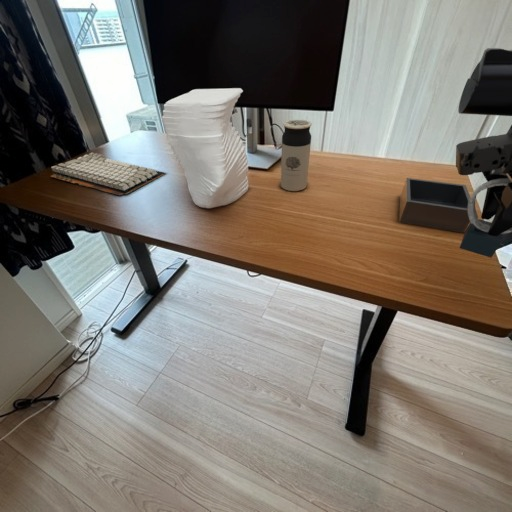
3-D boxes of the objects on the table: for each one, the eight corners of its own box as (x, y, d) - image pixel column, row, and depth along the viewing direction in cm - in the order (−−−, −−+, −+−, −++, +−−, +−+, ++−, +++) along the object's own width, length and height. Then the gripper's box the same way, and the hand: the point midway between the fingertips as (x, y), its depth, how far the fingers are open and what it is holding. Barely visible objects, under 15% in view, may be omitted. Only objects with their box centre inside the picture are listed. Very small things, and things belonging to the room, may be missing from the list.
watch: (507, 262, 41) (553, 196, 34) (447, 244, 45) (478, 181, 38) (509, 245, 44) (552, 181, 38) (453, 229, 49) (482, 170, 42)
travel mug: (287, 178, 87) (290, 118, 76) (310, 183, 84) (317, 121, 72) (276, 188, 82) (277, 125, 71) (299, 194, 79) (304, 128, 67)
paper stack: (259, 180, 87) (257, 88, 70) (226, 225, 67) (211, 112, 51) (201, 173, 92) (186, 86, 76) (155, 213, 73) (121, 108, 57)
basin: (455, 205, 71) (465, 185, 68) (463, 233, 62) (476, 211, 58) (399, 197, 76) (406, 177, 72) (399, 222, 66) (407, 201, 62)
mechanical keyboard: (166, 173, 94) (163, 164, 91) (123, 198, 81) (119, 187, 79) (93, 159, 107) (90, 150, 105) (47, 178, 95) (42, 168, 93)
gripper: (465, 100, 41) (426, 193, 51) (495, 135, 28) (436, 250, 38) (557, 103, 38) (496, 202, 48) (640, 145, 25) (533, 269, 35)
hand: (488, 226), depth 42 cm, fingers closed on watch, 4 cm apart
